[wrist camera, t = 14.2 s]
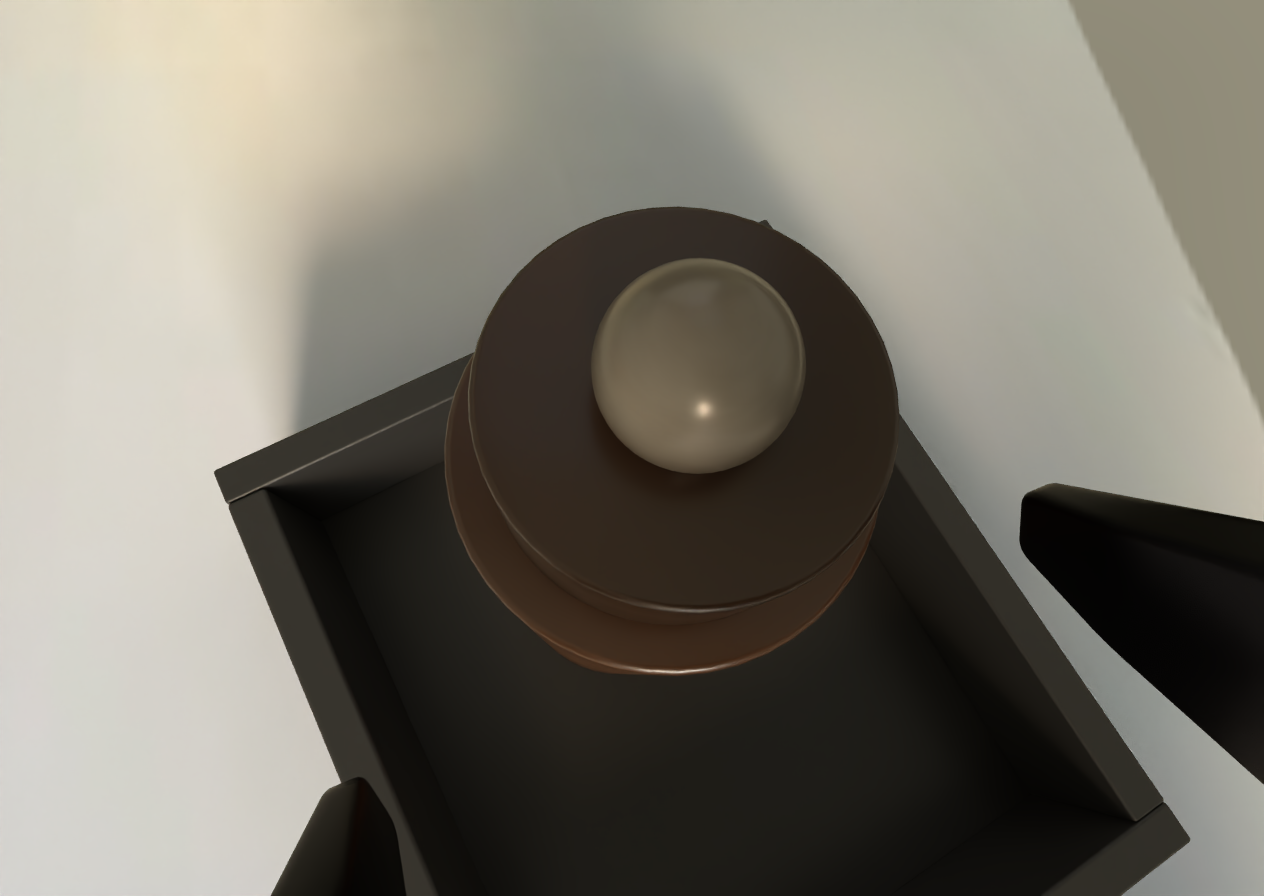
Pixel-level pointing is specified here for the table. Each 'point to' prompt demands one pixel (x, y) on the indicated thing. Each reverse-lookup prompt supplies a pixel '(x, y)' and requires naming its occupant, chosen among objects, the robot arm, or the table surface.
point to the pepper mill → (671, 442)
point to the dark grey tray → (687, 705)
